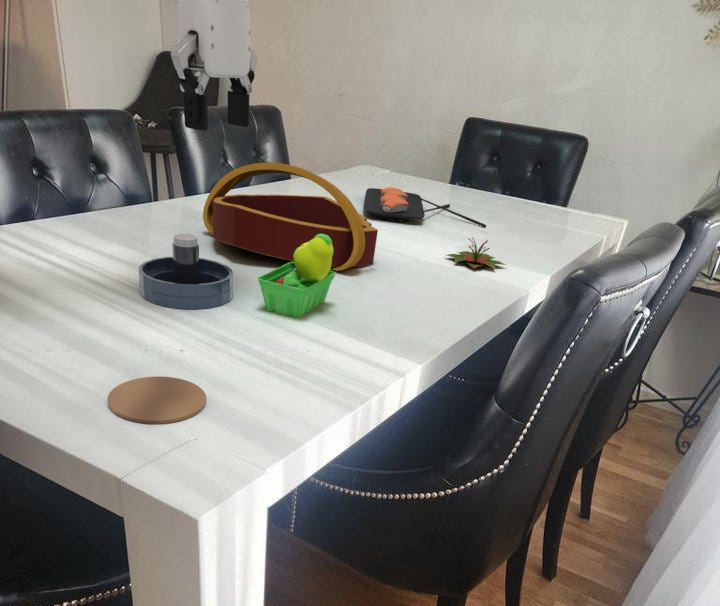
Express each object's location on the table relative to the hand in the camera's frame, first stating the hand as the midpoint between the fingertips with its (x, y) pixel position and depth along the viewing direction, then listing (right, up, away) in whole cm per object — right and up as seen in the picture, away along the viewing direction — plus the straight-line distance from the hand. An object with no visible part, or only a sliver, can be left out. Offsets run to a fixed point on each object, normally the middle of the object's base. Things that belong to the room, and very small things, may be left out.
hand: (218, 127), depth 87 cm
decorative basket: (+5, -5, +33) cm, 34 cm away
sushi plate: (+35, +19, +74) cm, 84 cm away
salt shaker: (-6, -20, +7) cm, 22 cm away
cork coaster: (-2, -39, -18) cm, 43 cm away
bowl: (-6, -21, +8) cm, 23 cm away
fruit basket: (+10, -23, +9) cm, 26 cm away
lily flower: (+42, -5, +41) cm, 59 cm away
